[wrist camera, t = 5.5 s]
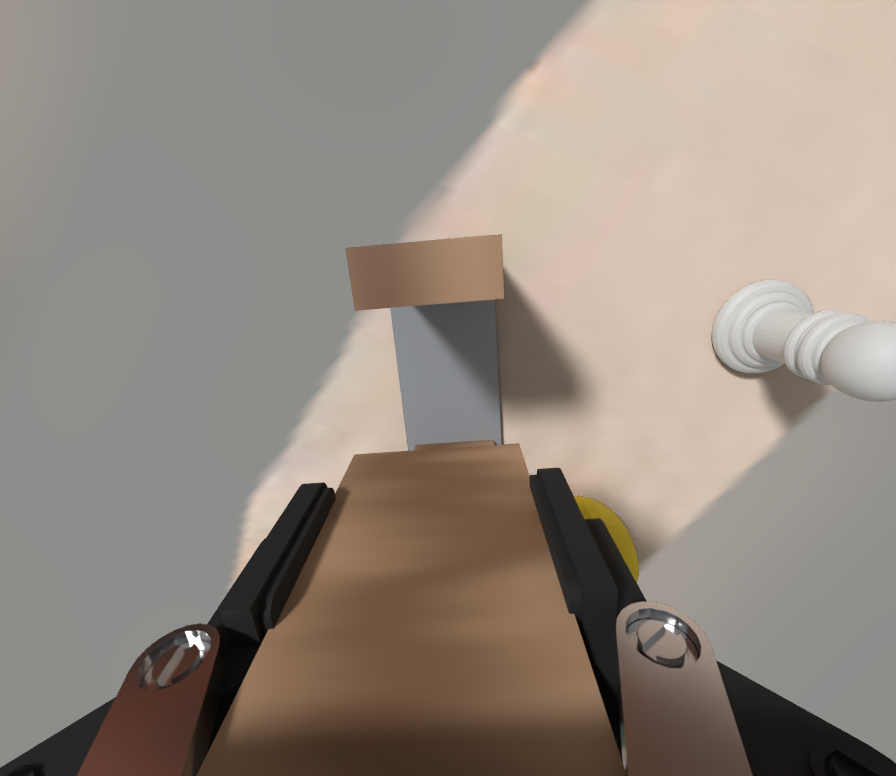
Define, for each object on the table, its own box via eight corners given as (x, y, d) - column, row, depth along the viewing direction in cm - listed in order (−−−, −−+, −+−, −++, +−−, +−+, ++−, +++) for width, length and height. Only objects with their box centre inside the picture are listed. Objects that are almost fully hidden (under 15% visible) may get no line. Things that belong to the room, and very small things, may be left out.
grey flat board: (491, 235, 23) (492, 235, 22) (509, 626, 32) (509, 630, 31) (383, 245, 23) (382, 244, 23) (431, 630, 32) (431, 633, 32)
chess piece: (759, 385, 25) (914, 456, 17) (688, 344, 24) (812, 396, 16) (824, 307, 24) (1031, 341, 15) (750, 261, 23) (924, 269, 14)
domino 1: (483, 240, 22) (501, 234, 13) (485, 277, 23) (504, 298, 14) (391, 247, 23) (345, 248, 13) (396, 285, 23) (354, 310, 14)
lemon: (624, 509, 28) (685, 606, 21) (561, 555, 29) (597, 662, 22) (572, 458, 27) (617, 539, 19) (509, 508, 28) (528, 603, 21)
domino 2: (518, 443, 12) (723, 1072, 3) (520, 500, 13) (693, 1171, 4) (354, 454, 13) (50, 1073, 3) (364, 510, 13) (133, 1165, 4)
